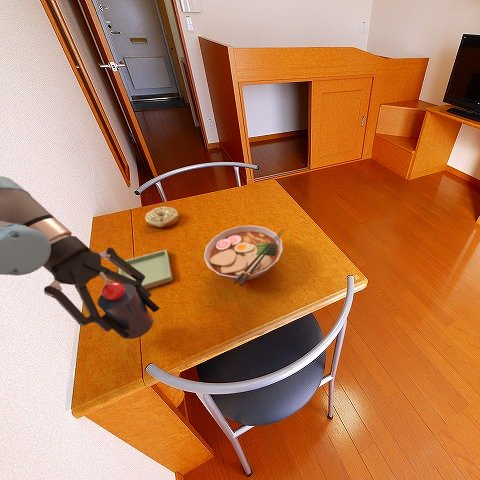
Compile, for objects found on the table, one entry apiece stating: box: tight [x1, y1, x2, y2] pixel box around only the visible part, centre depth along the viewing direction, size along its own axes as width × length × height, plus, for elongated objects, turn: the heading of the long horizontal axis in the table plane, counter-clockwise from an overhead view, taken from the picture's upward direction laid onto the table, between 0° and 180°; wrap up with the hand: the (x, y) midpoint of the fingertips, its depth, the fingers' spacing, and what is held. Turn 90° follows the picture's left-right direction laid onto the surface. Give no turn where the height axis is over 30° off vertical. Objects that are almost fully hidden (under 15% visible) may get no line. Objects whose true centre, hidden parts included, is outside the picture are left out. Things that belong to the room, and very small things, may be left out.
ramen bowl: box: [203, 224, 285, 287], centre depth 84 cm, size 25×23×8 cm
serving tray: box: [118, 249, 174, 290], centre depth 82 cm, size 13×13×2 cm
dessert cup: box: [97, 272, 155, 340], centre depth 58 cm, size 7×7×18 cm
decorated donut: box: [144, 206, 179, 229], centre depth 101 cm, size 10×11×4 cm
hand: (142, 323), depth 61 cm, fingers closed on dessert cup, 7 cm apart
